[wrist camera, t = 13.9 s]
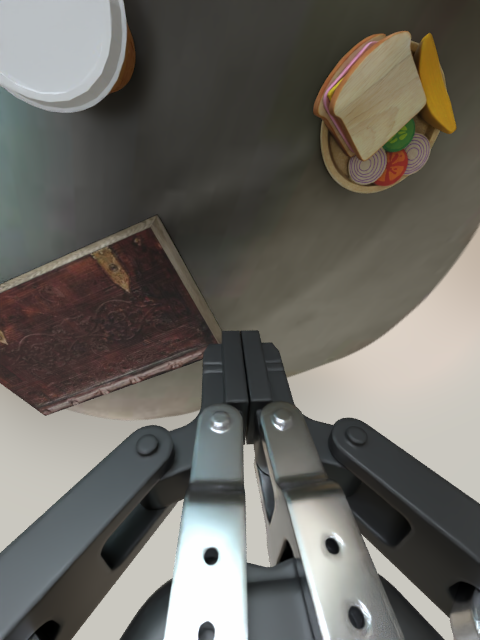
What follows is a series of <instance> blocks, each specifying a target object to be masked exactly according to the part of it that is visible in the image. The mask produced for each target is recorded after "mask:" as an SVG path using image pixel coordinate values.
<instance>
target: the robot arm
mask: <svg viewBox="0 0 480 640" xmlns="http://www.w3.org/2000/svg"><path fill="white" fill-rule="evenodd" d="M245 437H246V443H247V444H254V450H255V460H254V468H255V473H256V478H257V483H258V487H259V493H260V498H261V503H262V508H263V513H264V518H265V523H266V531H267V547H268V554H269V560H270V566H271V567H263V566H258V565H255V564H251V563H247V562H246V561H247V560H246V506H245V490H244V472H243V445H244V444H245ZM182 499H184V502H183V510H182V516H181V523H180V531H179V538H178V545H177V551H176V559H175V566H174V572H173V578H172V579H170V580H169V581H167V582H166V583H165V584H164V585H162V586H161V587H160V588H159V589H158V590H156V591H155V592H154V593H153V594H152V595H151V596H150V597H149V598H148V600H147V601H146V602H145V603H144V605H143V606H142V607H141V608H140V609H139V611H138V612H137V614H136V615H135V617H134V618H133V620H132V621H131V623H130V624H129V626H128V627H127V629H126V630H125V632H124V634H123V635H122V637H121V638H120V640H444V639H443V638H442V636H441V635H440V634H439V633H438V632H437V631H436V630H435V629H434V628H433V627H432V626H431V625H430V624H429V623H428V622H427V621H426V620H425V619H424V618H423V617H422V615H421V614H420V613H419V612H418V611H417V610H416V609H415V608H414V607H413V606H412V605H411V604H410V603H409V602H408V601H407V600H406V599H405V598H404V597H403V596H402V594H401V593H400V592H399V591H398V590H397V589H396V588H395V587H394V586H393V585H391V584H390V583H389V582H388V581H387V580H386V579H385V578H383V577H382V576H380V575H379V574H377V571H376V569H375V567H374V564H373V562H372V559H371V557H370V554H369V552H368V549H367V547H366V545H365V542H364V540H363V537H362V535H363V536H364V537H365V538H366V539H367V540H369V542H371V543H372V544H373V545H374V546H375V547H376V548H377V549H378V550H379V551H380V552H381V553H382V554H383V555H384V556H385V557H386V558H387V559H389V561H390V562H391V563H392V564H394V565H395V566H396V567H397V568H398V569H399V570H400V571H401V572H402V573H403V574H404V575H405V576H406V577H407V578H408V579H409V580H410V581H411V582H412V583H413V584H414V585H416V586H417V587H418V588H419V589H420V590H421V591H422V592H423V593H424V594H425V595H426V596H427V597H428V598H429V599H430V600H431V601H432V602H433V603H434V604H435V605H436V606H438V607H439V608H440V609H441V610H442V611H443V612H444V613H445V614H446V615H447V616H448V617H449V618H450V623H451V628H452V632H453V635H454V640H480V504H479V503H478V502H476V501H475V500H473V499H472V498H471V497H469V496H468V495H466V494H465V493H463V492H462V491H461V490H459V489H458V488H456V487H455V486H454V485H452V484H451V483H449V482H448V481H446V480H445V479H444V478H442V477H441V476H439V475H438V474H436V473H435V472H434V471H432V470H431V469H430V468H428V467H427V466H425V465H424V464H422V463H421V462H420V461H418V460H417V459H415V458H414V457H413V456H411V455H410V454H408V453H407V452H406V451H404V450H403V449H401V448H400V447H398V446H397V445H396V444H394V443H393V442H391V441H390V440H388V439H387V438H386V437H384V436H383V435H381V434H380V433H378V432H377V431H376V430H374V429H373V428H372V427H370V426H369V425H367V424H366V423H364V422H362V421H360V420H357V419H354V418H342V419H340V420H338V421H337V422H336V423H335V424H334V425H330V424H326V423H322V422H318V421H315V420H312V419H310V418H308V417H306V416H305V415H303V414H302V413H301V411H300V410H299V409H298V408H297V407H296V406H295V405H294V402H293V399H292V395H291V391H290V388H289V384H288V381H287V377H286V374H285V371H284V367H283V363H282V360H281V356H280V353H279V351H278V349H277V348H276V347H275V346H274V345H273V344H272V343H261V339H260V334H259V331H258V330H257V331H222V344H209V345H208V346H207V348H206V349H205V351H204V353H203V377H202V404H201V410H200V412H199V414H198V416H197V417H196V418H195V419H194V420H193V421H192V422H191V423H189V424H187V425H186V426H183V427H181V428H178V429H175V430H173V431H167V430H166V429H165V428H163V427H160V426H156V425H150V426H145V427H142V428H140V429H138V430H136V431H135V432H133V433H132V434H131V435H130V436H129V437H128V438H126V439H125V440H124V441H123V442H122V443H121V444H120V445H119V446H118V447H117V448H115V449H114V450H113V451H112V452H111V453H110V454H109V455H108V456H107V457H106V458H104V459H103V460H102V461H101V462H100V463H99V464H98V465H97V466H96V467H94V468H93V469H92V470H91V471H90V472H89V473H88V474H87V475H86V476H84V477H83V478H82V479H81V480H80V481H79V482H78V483H77V484H76V485H75V486H74V487H72V489H70V490H69V491H68V492H67V493H66V494H65V495H64V496H62V497H61V498H60V499H59V500H58V501H57V502H56V503H55V504H54V505H53V506H51V507H50V508H49V509H48V510H47V511H46V512H45V513H44V514H43V515H42V516H41V517H39V518H38V519H37V520H36V521H35V522H34V523H33V524H32V525H31V526H29V527H28V528H27V529H26V530H25V531H24V532H23V533H22V534H21V535H19V536H18V537H17V538H16V539H15V540H14V541H13V542H12V543H11V544H10V545H8V546H7V547H6V548H5V549H4V550H3V551H2V552H1V553H0V640H71V639H72V638H73V637H74V635H75V634H76V633H77V631H78V630H79V629H80V627H81V626H82V625H83V624H84V622H85V621H86V620H87V618H88V617H89V616H90V615H91V613H92V612H93V611H94V609H95V608H96V607H97V606H98V604H99V603H100V602H101V600H102V599H103V598H104V596H105V595H106V594H107V593H108V591H109V590H110V589H111V587H112V586H113V585H114V584H115V582H116V581H117V580H118V579H119V577H120V576H121V575H122V573H123V572H124V571H125V570H126V568H127V567H128V566H129V564H130V563H131V562H132V561H133V559H134V558H135V557H136V555H137V554H138V553H139V552H140V550H141V549H142V548H143V546H144V545H145V543H147V541H148V540H149V539H150V537H151V536H152V535H153V534H154V532H155V531H156V530H157V528H158V527H159V526H160V524H161V523H162V522H163V521H164V519H165V518H166V517H167V516H168V514H169V513H170V512H171V510H172V509H173V508H174V506H175V505H176V503H177V502H178V501H180V500H182ZM361 534H362V535H361Z"/></svg>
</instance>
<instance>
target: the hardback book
mask: <svg viewBox="0 0 480 640" xmlns="http://www.w3.org/2000/svg"><path fill="white" fill-rule="evenodd" d="M209 344H222V331H221V329H220V327H219V325H218V323H217V322H216V320H215V318H214V316H213V314H212V313H211V311H210V309H209V307H208V305H207V304H206V302H205V300H204V298H203V296H202V295H201V293H200V291H199V289H198V287H197V285H196V284H195V282H194V280H193V278H192V276H191V275H190V273H189V271H188V269H187V267H186V266H185V264H184V262H183V260H182V258H181V257H180V255H179V253H178V251H177V249H176V247H175V246H174V244H173V242H172V240H171V238H170V237H169V235H168V233H167V231H166V229H165V228H164V226H163V224H162V222H161V220H160V219H159V217H158V215H156V216H154V217H151V218H149V219H147V220H145V221H142V222H140V223H138V224H136V225H133V226H131V227H129V228H127V229H124V230H122V231H120V232H118V233H115V234H113V235H111V236H108V237H106V238H104V239H102V240H99V241H97V242H95V243H93V244H90V245H88V246H86V247H84V248H81V249H79V250H77V251H75V252H72V253H70V254H68V255H66V256H63V257H61V258H59V259H57V260H54V261H52V262H50V263H48V264H45V265H43V266H41V267H39V268H36V269H34V270H32V271H30V272H27V273H25V274H23V275H21V276H18V277H16V278H14V279H12V280H9V281H7V282H5V283H2V284H0V383H1V384H2V385H4V386H5V387H6V388H8V389H9V390H11V391H12V392H13V393H15V394H16V395H18V396H19V397H20V398H21V399H23V400H24V401H26V402H27V403H28V404H30V405H31V406H32V407H34V408H35V409H37V410H38V411H39V412H41V413H42V414H44V415H45V416H46V415H49V414H52V413H54V412H57V411H60V410H63V409H66V408H69V407H71V406H74V405H77V404H80V403H82V402H85V401H88V400H91V399H94V398H96V397H99V396H102V395H105V394H108V393H110V392H113V391H116V390H119V389H122V388H124V387H127V386H130V385H133V384H136V383H138V382H141V381H144V380H147V379H149V378H152V377H155V376H158V375H161V374H163V373H166V372H169V371H172V370H175V369H177V368H180V367H183V366H186V365H189V364H191V363H194V362H197V361H200V360H203V353H204V351H205V349H206V348H207V346H208V345H209Z"/></svg>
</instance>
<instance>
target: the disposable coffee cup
mask: <svg viewBox="0 0 480 640" xmlns="http://www.w3.org/2000/svg"><path fill="white" fill-rule="evenodd" d="M134 66H135V47H134V41H133V38H132V34H131V32H130V29H129V26H128V24H127V21H126V15H125V8H124V1H123V0H0V86H2V87H3V88H4V89H6V90H7V91H9V92H10V93H11V94H13V95H14V96H16V97H17V98H19V99H21V100H23V101H25V102H27V103H29V104H30V105H33V106H35V107H38V108H41V109H44V110H47V111H54V112H63V113H70V112H77V111H82V110H85V109H87V108H90V107H92V106H94V105H96V104H97V103H98V102H100V101H101V100H103V99H104V97H105V96H106V95H107V94H110V93H113V92H116V91H118V90H120V89H122V88H123V87H124V86H125V85H126V84H127V83H128V82H129V80H130V78H131V76H132V74H133V71H134Z"/></svg>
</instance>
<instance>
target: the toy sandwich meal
mask: <svg viewBox="0 0 480 640" xmlns="http://www.w3.org/2000/svg"><path fill="white" fill-rule="evenodd" d="M313 113H314V115H316V116H317V117H320V118H321V119H322V124H321V134H320V141H321V152H322V156H323V160H324V163H325V166H326V168H327V170H328V172H329V173H330V175H331V176H332V178H333V179H334V180H335V181H336V182H337V183H338V184H340V185H341V186H342V187H344V188H346V189H348V190H350V191H353V192H357V193H374V192H379V191H382V190H385V189H388V188H390V187H392V186H394V185H396V184H397V183H399V182H401V181H402V180H403V179H405V178H406V177H407V176H409V175H410V174H413V173H415V172H417V171H418V170H420V169H421V168H422V167H423V166H424V165H425V163H426V162H427V160H428V158H429V155H430V150H431V148H432V146H433V144H434V142H435V140H436V138H437V136H438V134H439V131H442V132H444V133H447V134H451V133H453V132H454V131H455V130H456V123H455V119H454V115H453V111H452V106H451V102H450V99H449V96H448V94H447V90H446V81H445V77H444V73H443V70H442V68H441V65H440V63H439V59H438V55H437V51H436V47H435V44H434V40H433V37H432V34H431V33H428V34H427V35H426V36H425V37H424V38H423V39H422V40H421V42H420V43H416V42H413V41H411V35H410V33H409V32H408V31H400V32H396V33H393V34H391V35H389V36H387V37H386V35H385V34H374V35H371V36H369V37H367V38H365V39H364V40H362V41H361V42H359V43H358V44H357V45H355V46H354V47H353V48H352V49H351V50H350V51H349V52H348V53H347V54H346V55H345V56H344V57H343V58H342V59H341V60H340V61H339V62H338V64H337V65H336V66H335V67H334V69H333V70H332V72H331V73H330V74H329V76H328V77H327V79H326V81H325V82H324V84H323V86H322V87H321V89H320V91H319V93H318V96H317V98H316V100H315V103H314V108H313Z"/></svg>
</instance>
